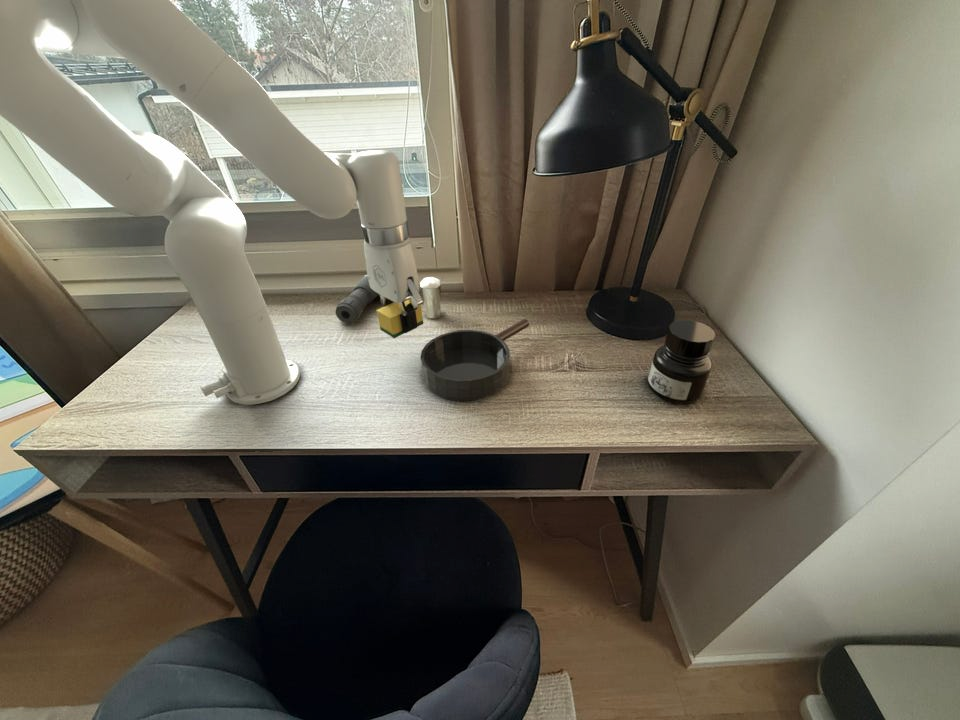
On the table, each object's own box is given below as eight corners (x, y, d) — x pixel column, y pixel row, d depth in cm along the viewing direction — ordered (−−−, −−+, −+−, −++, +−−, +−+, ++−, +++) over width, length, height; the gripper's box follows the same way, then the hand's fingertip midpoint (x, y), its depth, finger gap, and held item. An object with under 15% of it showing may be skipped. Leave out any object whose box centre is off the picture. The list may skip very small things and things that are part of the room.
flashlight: (358, 326, 94) (353, 305, 91) (336, 324, 95) (330, 303, 92) (383, 295, 106) (380, 275, 103) (363, 293, 107) (359, 273, 104)
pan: (464, 414, 70) (462, 394, 68) (405, 373, 80) (402, 354, 77) (527, 371, 79) (528, 352, 77) (467, 339, 89) (466, 321, 86)
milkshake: (443, 321, 95) (440, 280, 89) (421, 319, 96) (416, 279, 90) (449, 311, 99) (446, 271, 93) (427, 309, 100) (422, 270, 94)
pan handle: (498, 346, 82) (498, 338, 81) (492, 342, 83) (492, 335, 82) (529, 328, 87) (529, 320, 86) (522, 325, 88) (522, 317, 87)
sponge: (394, 338, 79) (390, 318, 76) (380, 329, 81) (376, 310, 79) (423, 323, 83) (420, 304, 80) (409, 316, 85) (406, 296, 83)
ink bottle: (635, 379, 77) (648, 322, 70) (673, 367, 79) (690, 311, 72) (673, 412, 69) (693, 352, 62) (714, 398, 72) (738, 339, 65)
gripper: (340, 227, 74) (361, 317, 85) (397, 251, 64) (413, 350, 75) (376, 217, 78) (392, 304, 89) (435, 237, 68) (445, 333, 79)
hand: (401, 324), depth 82 cm, fingers closed on sponge, 4 cm apart
